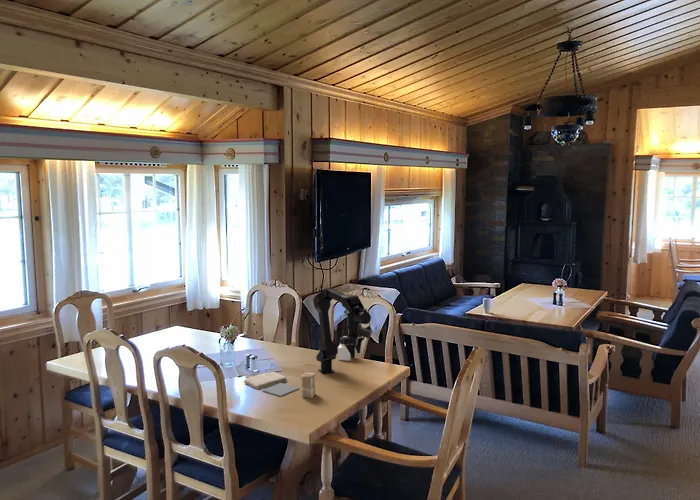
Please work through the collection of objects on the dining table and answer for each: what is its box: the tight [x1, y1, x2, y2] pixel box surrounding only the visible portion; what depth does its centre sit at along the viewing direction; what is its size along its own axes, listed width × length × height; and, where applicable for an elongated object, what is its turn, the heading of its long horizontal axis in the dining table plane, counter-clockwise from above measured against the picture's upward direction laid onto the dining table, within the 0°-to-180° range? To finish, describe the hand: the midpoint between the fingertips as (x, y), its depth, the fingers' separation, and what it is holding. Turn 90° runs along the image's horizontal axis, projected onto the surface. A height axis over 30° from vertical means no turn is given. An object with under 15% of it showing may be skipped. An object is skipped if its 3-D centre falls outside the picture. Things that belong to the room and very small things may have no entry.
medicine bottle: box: [337, 335, 353, 362], centre depth 320 cm, size 7×7×12 cm
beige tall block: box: [300, 372, 316, 399], centre depth 267 cm, size 5×5×10 cm
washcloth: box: [243, 371, 288, 390], centre depth 286 cm, size 12×18×3 cm, turn 132°
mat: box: [261, 382, 300, 397], centre depth 274 cm, size 12×12×1 cm
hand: (356, 355), depth 278 cm, fingers open, 9 cm apart
